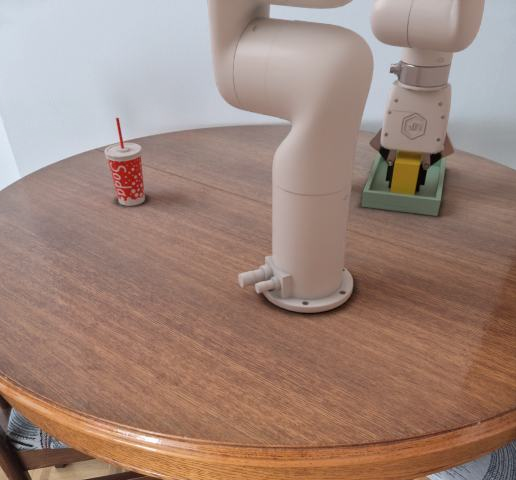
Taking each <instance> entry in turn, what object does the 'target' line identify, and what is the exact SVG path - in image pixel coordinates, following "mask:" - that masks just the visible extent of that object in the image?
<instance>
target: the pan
mask: <svg viewBox="0 0 516 480" xmlns="http://www.w3.org/2000/svg"><path fill="white" fill-rule="evenodd" d="M397 154H398V151H397ZM397 154H396V157H397ZM447 157H448V156H447ZM447 157H444V158H442V159H440V160H439V161H438V162H436V163H435V164H433V165H432V166H430V168H429V169H428V170H427V175H426V180H425V185H420V189H419V192H417V191H416V190H415V194H414V195H406V194H398V193H390V191H391V188H388V186H389V181H386V174H387V167H388V165H387V164H386V161H385V160H384V158H383V157H382V156H381V155H380V153H379V152H378V151H377V154H376V156H375V160H374V162H373V165H372V166H371V167H372V168H371V169H370V172H369V175H368V178H367V180H366V183H365V186H364V188H363V190H362V199H361V207H362V208H369V209H378V210H386V211H392V212H401V213H408V214H409V213H410V214H417V215H426V216H433V217H438V216H439V211H440V207H441V201H442V194H443V187H444V181H445V173H446V167H447V166H446V165H447V159H448V158H447ZM421 163H422V159H421Z"/></svg>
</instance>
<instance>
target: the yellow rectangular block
mask: <svg viewBox="0 0 516 480" xmlns="http://www.w3.org/2000/svg"><path fill="white" fill-rule="evenodd" d="M421 159H422V153H415V152H406V151H398V154H397V157H396V161H395V165H394V171H393V178H392V184H391V191H390V193H398V194H406V195H414V194H415V189H416V183H417V178H418V173H419V168H420V164H421Z"/></svg>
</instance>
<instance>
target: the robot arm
mask: <svg viewBox="0 0 516 480" xmlns="http://www.w3.org/2000/svg"><path fill="white" fill-rule="evenodd" d="M485 1H486V0H374V2H373V4H372V8H371V11H370V17H369V18H370V20H369V21H370V22H369V23H370V29H371V32H372V34H373V36H374V38H375V39H376V40H377V41H378V42H380V43H382V44H384V45H387V46H390V47H398V48H402V49H401V50H402V51H401V58H400V61H398V62H396V63H390V66H389V74H394V75H396V77H397V79H395V80H394V81H393V82H392V83H391V85H390V86H391V87H390V90H389V92H388V93H389V94H388V97H387V100H386V105H385V110H384V115H383V121H382V125H381V127H380V128H379V129H378V130H377V131H376V132H375V134H374V135H373V136H372V137H371V139H370V140H369V146H370V147H372V149H374V150H375V151H377V153H378V152H379V153H380V155H381V156H382V157H383V158H384V160H385V161H386V164H387V165H388V167H387V174H386V181H389V186H388V188H391V184H392V178H393V171H394V165H395V161H396V154H397V151H406V152H415V153H422V163H421V164H420V168H419V173H418V178H417V183H416V189H415V190H416V191H417V192H419V189H420V185H425V180H426V175H427V170H428V169H429V168H430V166H432V165H433V164H435V163H436V162H438V161H439V160H440V159H442V158H444V157H449V156H451V155H453V154H454V153H455V146H454V144H453V141H452V139H451V136H450V134H449V132H448V126H449V118H450V113H451V105H452V84H451V83H449V82H448V81H449V78H450V72H451V67H452V62H453V57H454V53H459V52H462V51H464V50H466V49H468V48H469V47H470V46H471V45H472V44H473V42H474V41H475V40H476V38H477V36H478V33H479V32H480V28H481V25H482V22H483V17H484V16H483V15H484V11H485V3H486V2H485ZM206 2H207V15H208V16H207V17H208V29H209V40H210V55H211V64H212V72H213V78H214V82H215V85H216V88H217V90H218V93H219V94H220V97H221V98H222V99H223V100H224V101H225V103H226V104H228V105H229V106H231V107H233V108H236V109H237V110H241V111H245V112H249V113H253V114H258V115H263V116H268V117H273V118H278V119H280V120H284V121H288V122H290V124H291V129H290V131H289V133H288V134H287V136H286V137H284V139H283V141H282V142H281V143H280V144H279V146H278V147H277V149H276V151H275V153H274V155H273V160H272V165H271V166H272V167H271V180H272V181H271V187H272V189H271V190H272V191H271V192H272V193H271V215H272V216H271V223H272V224H271V254H270V255H266V256H264V264H263V265H259V267H258V269H254V270H248V271H245V272H241V273H238V274H237V281H238V284H239V285H240V288H242V289H244V288H248V287H251V286H254V290H255V292H256V293H257V294H258V295H259V294H263V295H264V297H265V298H266V299H267V300H268V301H269V302H270V303H272V304H273V305H275V306H277V307H278V308H282V309H284V310H286V311H291V312H296V313H305V314H312V313H322V312H326V311H331V310H333V309H335V308H338V307H339V306H341V305H343V304H344V303H345V302H347V301H348V299H349V298H350V297H351V295H352V293H353V290H354V279H353V276H352V274H351V273H350V271H349V269H347V268H346V267H345V266H344V265H345V254H346V245H347V237H348V235H347V234H348V226H349V216H350V206H351V197H352V196H351V195H352V186H353V178H354V177H353V175H354V168H355V158H356V150H357V144H358V139H359V133H360V129H361V124H362V120H363V116H364V112H365V109H366V104H367V101H368V97H369V95H370V90H371V86H372V81H373V78H374V77H373V76H374V70H375V69H374V65H375V64H374V55H373V51H372V49H371V47H370V45H369V43H368V42H367V41H366V39H365V38H364V37H363V36H362V35H360V34H359V33H358V32H356V31H354V30H352V29H350V28H347V27H344V26H341V25H337V24H331V23H325V22H324V23H323V22H315V21H306V20H297V19H293V20H292V19H283V18H274V17H270V14H271V5H272V6H283V7H289V8H290V7H291V8H301V9H316V10H318V9H319V10H326V9H328V10H329V9H330V10H331V9H337V8H342V7H344V6H346V5H348V4H350V3H352V2H353V0H206Z"/></svg>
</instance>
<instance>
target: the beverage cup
mask: <svg viewBox="0 0 516 480" xmlns="http://www.w3.org/2000/svg"><path fill="white" fill-rule="evenodd" d="M115 120H116V127H117V132H118V137H119V142H118V143H115V144H111V145H109V146H107V147H106V148H105V149H104V155H105V158H106V160H107V161H108V165H109V170H110V173H111V177H112V181H113V184H114V188H115V192H116V197H117V199H118V203H119V204H120V205H123V206H126V207H127V206H128V207H129V206H130V207H131V206H132V207H133V206H137V205H140V204H142V203H144V202H145V200H146V196H145V185H144V184H145V183H144V174H143V164H142V154H143V149H142V146H141V145H140V144H139V143H135V142H124V140H123V134H122V128H121V122H120V118H119V117H115Z"/></svg>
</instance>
